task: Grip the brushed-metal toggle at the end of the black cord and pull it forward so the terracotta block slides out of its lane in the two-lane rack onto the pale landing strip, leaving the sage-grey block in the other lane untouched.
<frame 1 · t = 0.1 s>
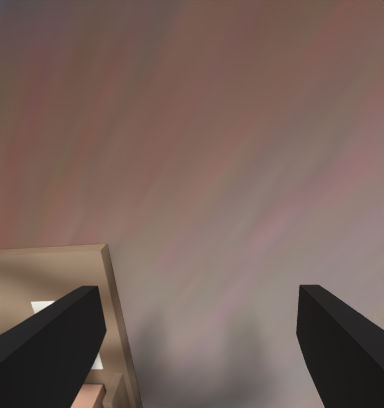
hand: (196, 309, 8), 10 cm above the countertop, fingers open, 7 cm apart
lane rack: (41, 337, 23), on the countertop
tethered block: (60, 405, 19), point 4 cm above the countertop, slide at 0.0 cm
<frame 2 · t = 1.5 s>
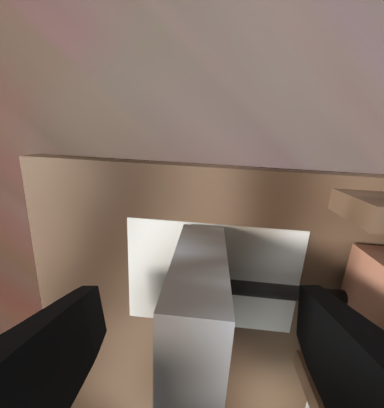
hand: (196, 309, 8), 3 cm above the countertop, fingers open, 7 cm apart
lane rack: (229, 329, 12), on the countertop
tethered block: (346, 340, 7), point 4 cm above the countertop, slide at 0.0 cm
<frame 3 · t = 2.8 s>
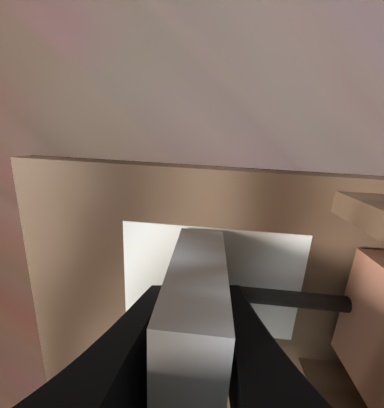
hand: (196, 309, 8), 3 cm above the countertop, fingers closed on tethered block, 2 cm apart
lane rack: (229, 336, 12), on the countertop
tethered block: (351, 351, 7), point 4 cm above the countertop, slide at 0.0 cm, touching gripper
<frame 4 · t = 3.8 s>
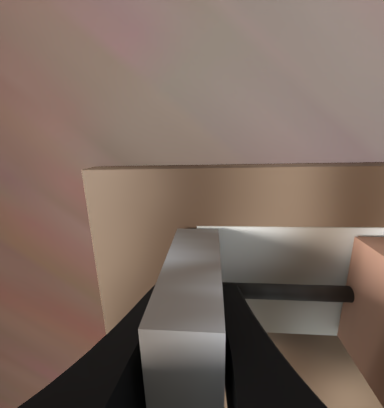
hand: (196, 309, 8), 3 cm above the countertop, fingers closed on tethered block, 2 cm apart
lane rack: (299, 336, 12), on the countertop
tethered block: (354, 340, 7), point 4 cm above the countertop, slide at 3.2 cm, touching gripper
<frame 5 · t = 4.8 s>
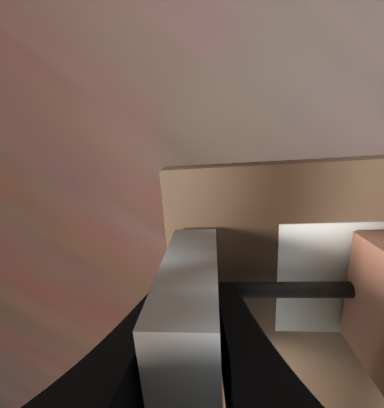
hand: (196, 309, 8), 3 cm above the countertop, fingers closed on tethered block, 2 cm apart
lane rack: (372, 335, 11), on the countertop
tethered block: (355, 336, 7), point 4 cm above the countertop, slide at 6.5 cm, touching gripper
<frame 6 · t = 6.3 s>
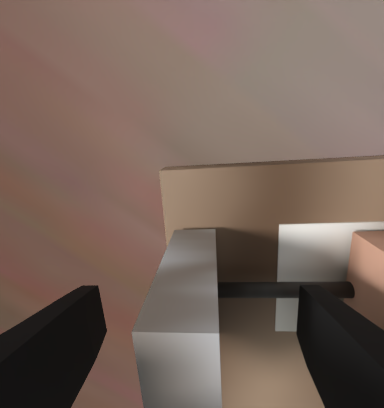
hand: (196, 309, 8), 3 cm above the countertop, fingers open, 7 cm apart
lane rack: (373, 335, 11), on the countertop
tethered block: (355, 336, 7), point 4 cm above the countertop, slide at 6.5 cm
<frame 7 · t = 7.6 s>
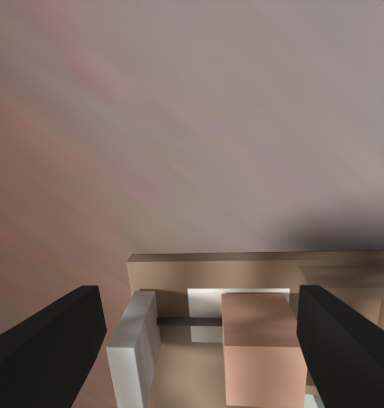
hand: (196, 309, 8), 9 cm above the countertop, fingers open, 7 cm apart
lane rack: (251, 343, 20), on the countertop
tethered block: (207, 346, 15), point 4 cm above the countertop, slide at 6.5 cm
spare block: (330, 395, 19), point 1 cm above the countertop, touching lane rack
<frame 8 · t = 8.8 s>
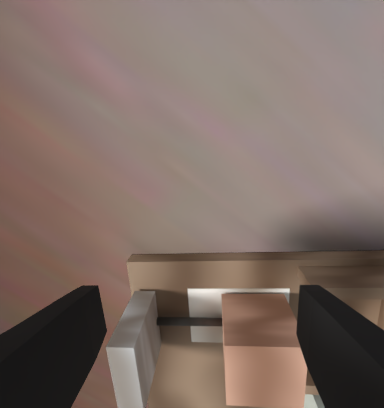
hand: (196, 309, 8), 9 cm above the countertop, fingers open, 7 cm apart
lane rack: (251, 343, 20), on the countertop
tethered block: (207, 346, 15), point 4 cm above the countertop, slide at 6.5 cm
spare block: (330, 395, 19), point 1 cm above the countertop, touching lane rack
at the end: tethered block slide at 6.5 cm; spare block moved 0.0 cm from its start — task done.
